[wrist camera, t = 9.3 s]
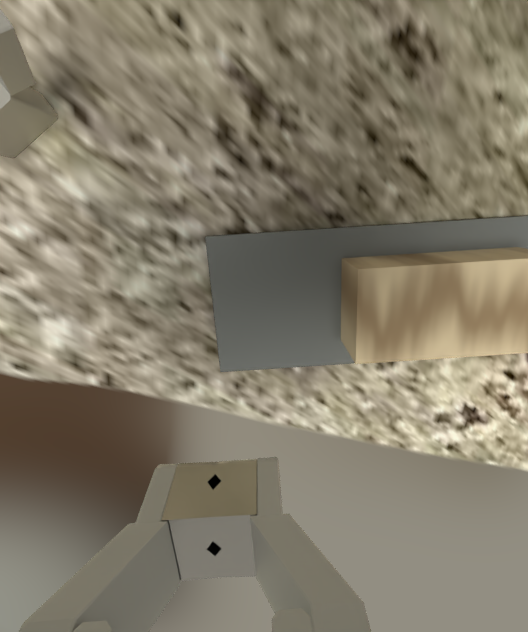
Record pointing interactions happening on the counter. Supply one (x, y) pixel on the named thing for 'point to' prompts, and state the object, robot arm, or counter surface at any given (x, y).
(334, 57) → the counter surface
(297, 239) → the slate mat
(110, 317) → the counter surface
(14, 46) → the lighter
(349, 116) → the counter surface
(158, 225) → the counter surface
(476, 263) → the beech block
